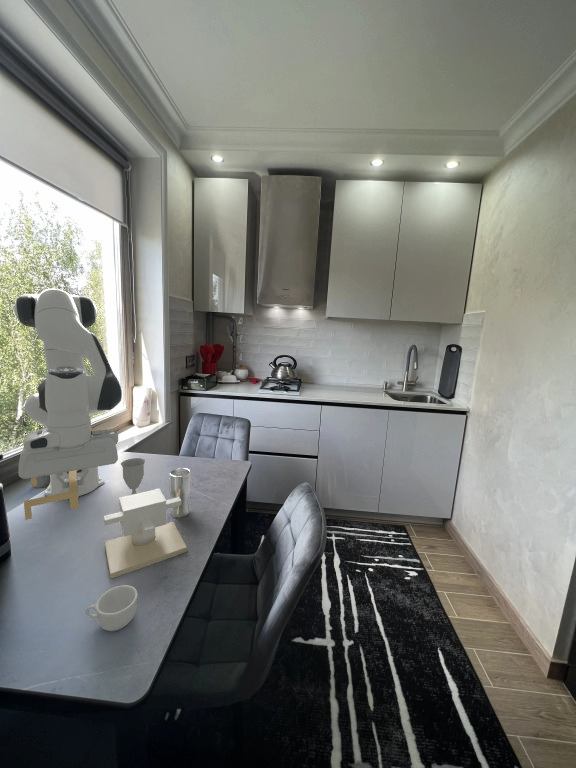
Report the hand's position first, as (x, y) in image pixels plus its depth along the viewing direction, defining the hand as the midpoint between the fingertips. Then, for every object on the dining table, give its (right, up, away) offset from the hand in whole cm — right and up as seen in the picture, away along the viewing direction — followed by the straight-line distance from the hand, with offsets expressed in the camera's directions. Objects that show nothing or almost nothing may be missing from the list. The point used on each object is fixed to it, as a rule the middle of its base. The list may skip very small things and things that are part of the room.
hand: (73, 485), depth 79 cm
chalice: (+2, -18, +28) cm, 33 cm away
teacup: (+16, -26, -12) cm, 33 cm away
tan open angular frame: (-3, -2, -2) cm, 4 cm away
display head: (+14, -21, +10) cm, 27 cm away
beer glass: (+17, -19, +29) cm, 38 cm away
